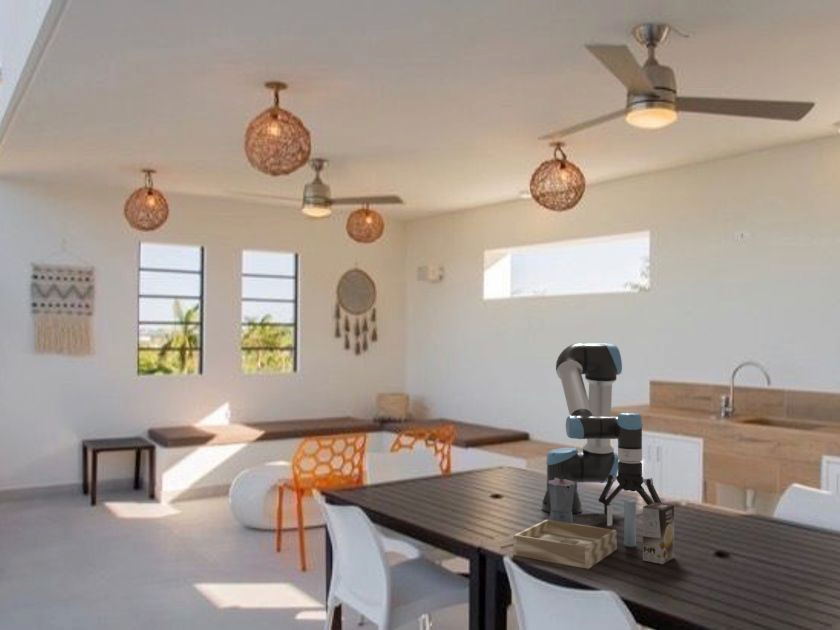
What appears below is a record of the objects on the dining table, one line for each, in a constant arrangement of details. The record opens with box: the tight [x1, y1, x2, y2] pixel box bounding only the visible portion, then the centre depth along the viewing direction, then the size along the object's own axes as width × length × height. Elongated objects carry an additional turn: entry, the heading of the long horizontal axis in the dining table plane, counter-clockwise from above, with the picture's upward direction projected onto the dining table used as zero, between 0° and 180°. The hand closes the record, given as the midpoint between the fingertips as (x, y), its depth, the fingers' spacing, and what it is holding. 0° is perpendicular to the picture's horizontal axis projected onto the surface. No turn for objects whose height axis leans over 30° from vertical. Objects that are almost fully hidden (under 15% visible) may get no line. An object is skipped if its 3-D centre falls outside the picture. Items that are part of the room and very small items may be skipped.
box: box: [512, 519, 618, 570], centre depth 235 cm, size 24×24×6 cm
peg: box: [623, 499, 637, 548], centre depth 243 cm, size 4×4×14 cm
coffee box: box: [642, 502, 675, 565], centre depth 228 cm, size 9×6×16 cm
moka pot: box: [548, 474, 575, 524], centre depth 259 cm, size 10×15×20 cm, turn 15°
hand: (630, 528), depth 243 cm, fingers open, 13 cm apart
